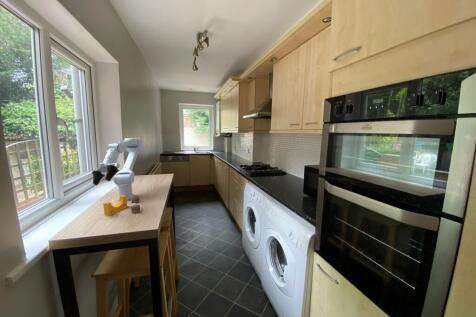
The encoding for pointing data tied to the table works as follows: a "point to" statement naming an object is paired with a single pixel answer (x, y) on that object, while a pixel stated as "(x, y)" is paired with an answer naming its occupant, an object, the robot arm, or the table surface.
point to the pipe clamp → (115, 206)
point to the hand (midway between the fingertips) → (101, 182)
